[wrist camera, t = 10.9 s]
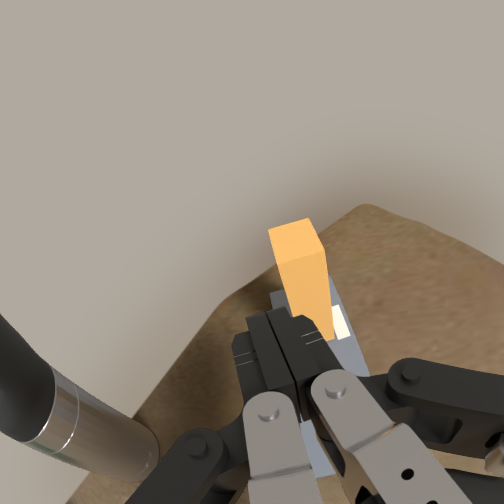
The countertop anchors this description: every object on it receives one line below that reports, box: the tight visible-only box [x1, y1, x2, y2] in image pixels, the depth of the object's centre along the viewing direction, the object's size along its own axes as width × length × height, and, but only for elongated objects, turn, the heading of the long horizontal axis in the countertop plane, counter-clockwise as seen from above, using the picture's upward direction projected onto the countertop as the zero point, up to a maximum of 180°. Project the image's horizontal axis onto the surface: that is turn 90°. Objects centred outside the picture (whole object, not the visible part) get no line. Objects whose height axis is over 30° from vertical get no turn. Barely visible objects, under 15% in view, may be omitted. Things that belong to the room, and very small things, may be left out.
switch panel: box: [270, 275, 370, 479], centre depth 30 cm, size 26×9×2 cm, turn 7°
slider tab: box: [268, 218, 335, 341], centre depth 29 cm, size 5×4×14 cm
